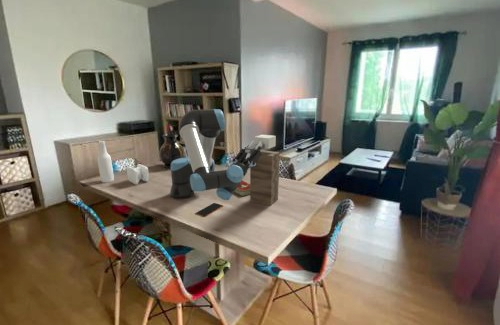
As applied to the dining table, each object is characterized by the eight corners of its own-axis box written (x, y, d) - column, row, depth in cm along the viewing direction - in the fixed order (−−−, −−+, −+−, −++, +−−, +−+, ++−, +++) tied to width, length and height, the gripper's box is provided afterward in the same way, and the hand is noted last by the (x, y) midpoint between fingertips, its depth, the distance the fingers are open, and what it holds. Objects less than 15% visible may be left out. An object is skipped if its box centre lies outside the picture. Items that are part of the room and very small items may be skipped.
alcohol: (100, 180, 197) (93, 141, 189) (112, 178, 202) (107, 139, 194) (102, 183, 191) (95, 142, 183) (115, 181, 196) (109, 141, 188)
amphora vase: (188, 167, 231) (186, 135, 223) (163, 171, 220) (160, 137, 212) (181, 161, 248) (178, 132, 241) (157, 165, 237) (154, 134, 230)
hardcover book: (240, 184, 191) (239, 178, 190) (257, 193, 174) (257, 187, 173) (225, 187, 184) (225, 181, 183) (242, 197, 168) (242, 191, 167)
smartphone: (194, 214, 144) (194, 213, 144) (214, 203, 158) (214, 202, 158) (204, 218, 140) (204, 216, 140) (224, 206, 154) (224, 205, 154)
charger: (254, 154, 134) (254, 143, 132) (239, 152, 138) (239, 141, 137) (275, 146, 154) (275, 135, 153) (261, 144, 159) (262, 134, 157)
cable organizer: (127, 180, 196) (125, 166, 193) (141, 177, 204) (139, 163, 201) (136, 185, 187) (134, 170, 183) (150, 182, 194) (148, 166, 191)
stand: (270, 205, 154) (272, 156, 146) (250, 200, 161) (250, 153, 153) (278, 199, 163) (279, 152, 155) (258, 195, 170) (258, 149, 161)
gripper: (225, 175, 137) (245, 146, 151) (254, 180, 129) (272, 149, 142) (221, 165, 132) (242, 135, 146) (250, 170, 124) (270, 138, 137)
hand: (257, 142), depth 144 cm, fingers closed on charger, 4 cm apart
